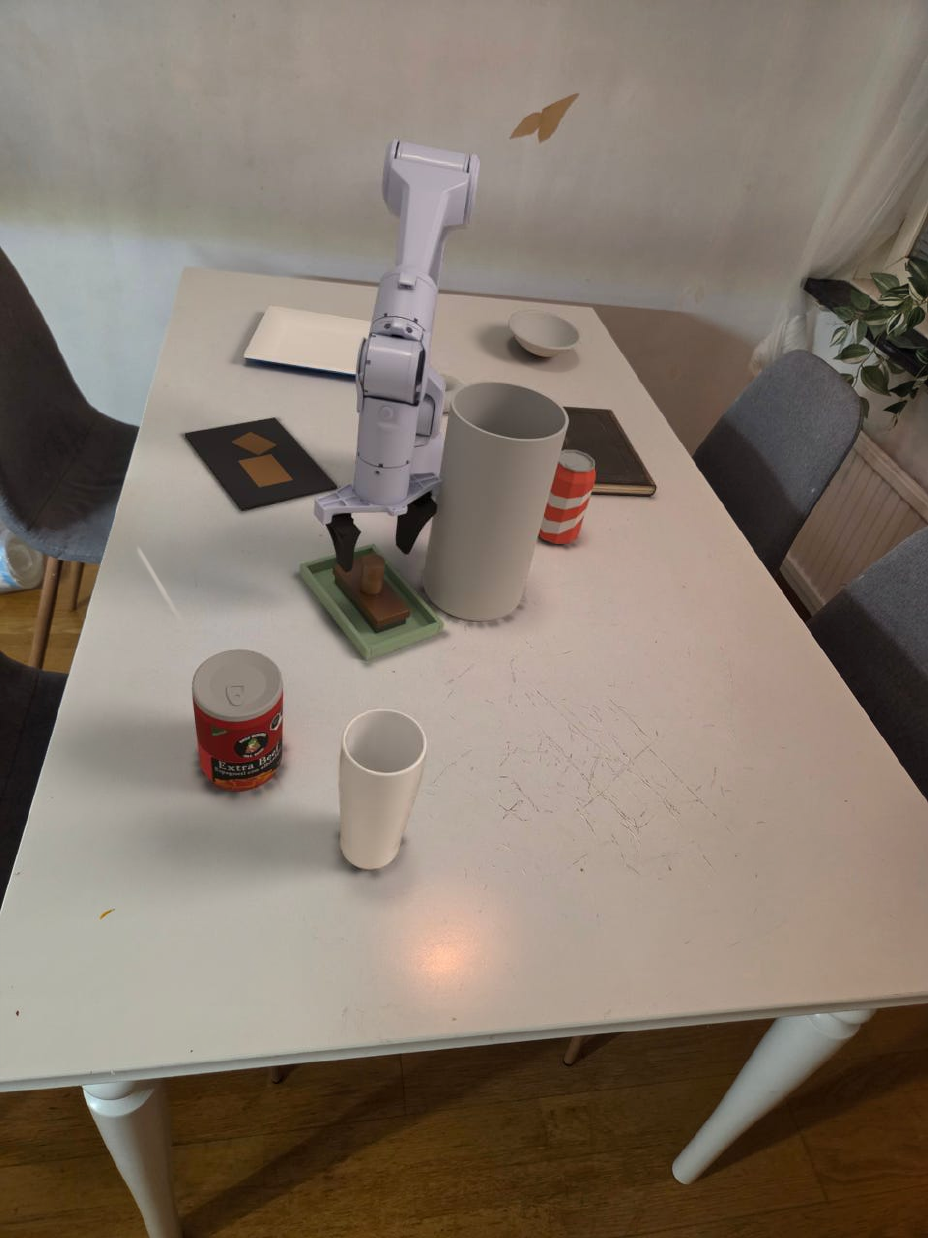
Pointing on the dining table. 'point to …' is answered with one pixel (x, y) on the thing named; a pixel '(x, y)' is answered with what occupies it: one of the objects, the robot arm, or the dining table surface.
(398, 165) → the robot arm
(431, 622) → the tray
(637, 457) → the hardcover book
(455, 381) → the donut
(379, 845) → the drinking glass
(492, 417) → the cylinder vase
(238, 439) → the mat
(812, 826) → the dining table surface
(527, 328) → the dish
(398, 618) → the brush
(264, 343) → the plate
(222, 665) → the canned food
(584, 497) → the beverage can
